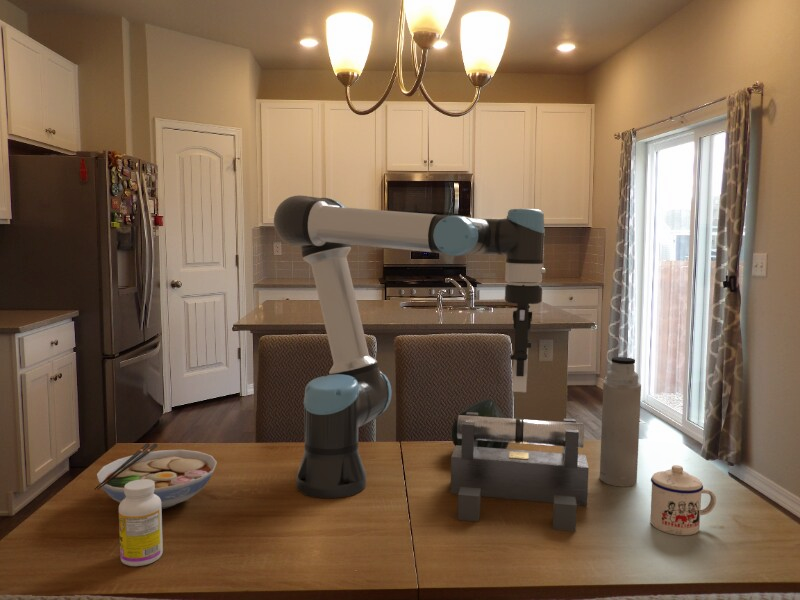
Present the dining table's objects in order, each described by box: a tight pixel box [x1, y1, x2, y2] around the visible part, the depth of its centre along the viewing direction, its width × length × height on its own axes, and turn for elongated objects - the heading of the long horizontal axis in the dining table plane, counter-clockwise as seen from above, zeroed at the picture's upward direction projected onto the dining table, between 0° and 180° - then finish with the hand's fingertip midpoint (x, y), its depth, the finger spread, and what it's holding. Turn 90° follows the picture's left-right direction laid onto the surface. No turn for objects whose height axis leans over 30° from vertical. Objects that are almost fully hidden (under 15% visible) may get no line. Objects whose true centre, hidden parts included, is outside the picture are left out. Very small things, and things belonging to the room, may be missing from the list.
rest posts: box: [457, 487, 578, 532], centre depth 123 cm, size 22×4×5 cm, turn 78°
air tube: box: [457, 414, 585, 449], centre depth 136 cm, size 26×5×5 cm, turn 78°
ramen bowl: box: [93, 442, 218, 510], centre depth 130 cm, size 25×23×8 cm
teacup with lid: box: [649, 464, 717, 536], centre depth 122 cm, size 12×9×12 cm
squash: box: [451, 398, 510, 449], centre depth 161 cm, size 14×15×15 cm
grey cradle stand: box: [450, 412, 589, 507], centre depth 137 cm, size 28×10×16 cm, turn 78°
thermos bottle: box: [599, 356, 642, 488], centre depth 144 cm, size 8×8×28 cm
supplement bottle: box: [118, 479, 164, 567], centre depth 107 cm, size 7×7×13 cm
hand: (520, 384), depth 136 cm, fingers open, 13 cm apart
